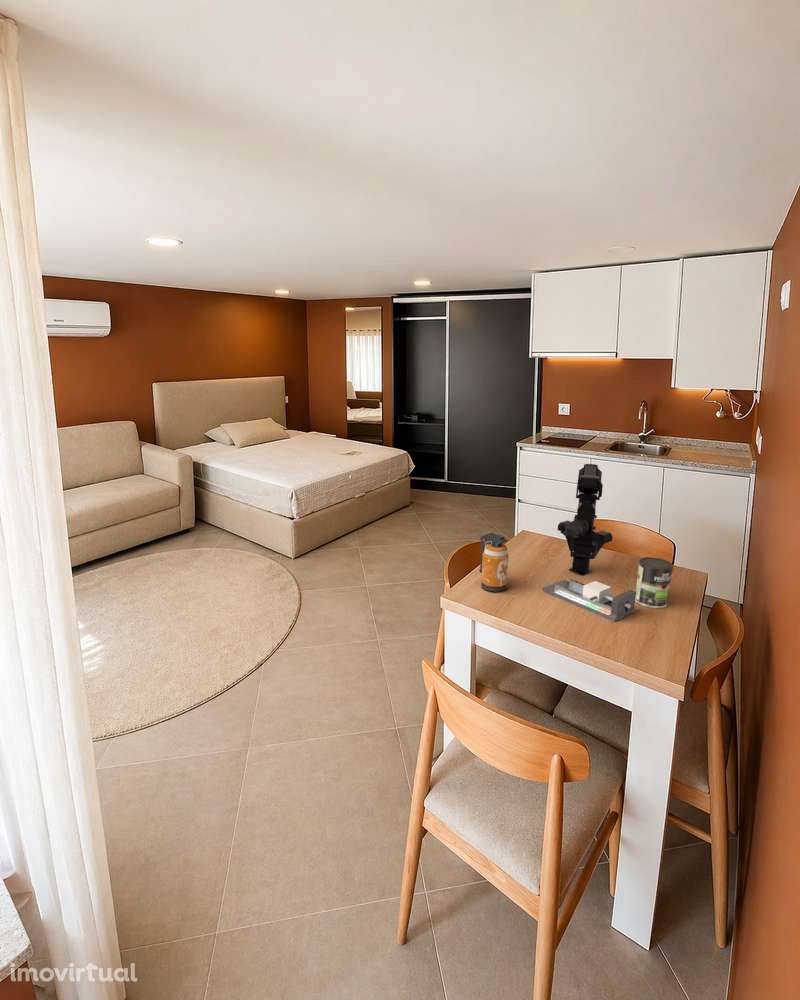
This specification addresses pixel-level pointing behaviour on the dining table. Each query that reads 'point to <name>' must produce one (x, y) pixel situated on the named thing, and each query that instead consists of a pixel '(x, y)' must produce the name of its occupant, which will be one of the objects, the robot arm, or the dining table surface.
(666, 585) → the coffee can
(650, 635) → the dining table surface
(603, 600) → the white cube with rod
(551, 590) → the gauge track
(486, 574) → the canister
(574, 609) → the dining table surface
